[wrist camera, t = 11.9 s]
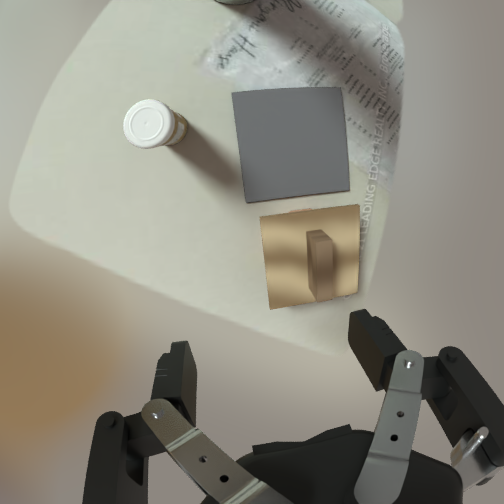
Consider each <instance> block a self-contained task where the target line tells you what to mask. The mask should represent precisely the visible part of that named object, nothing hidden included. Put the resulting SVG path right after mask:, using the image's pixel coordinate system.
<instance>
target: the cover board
mask: <svg viewBox="0 0 504 504" xmlns="http://www.w3.org/2000/svg"><path fill="white" fill-rule="evenodd" d="M260 225H261V234H262V243H263V252H264V260H265V269H266V279H267V288H268V297H269V306H270V310H271V309H277V308H283V307H288V306H294V305H299V304H304V303H310V302H315V301H317V302H322V301H327V300H332V298H335V297H339V296H344V295H349V294H353V293H357V289H358V271H359V239H360V205H358V204H355V205H346V206H338V207H330V208H321V209H313V210H306V211H298V212H290V213H283V214H276V215H269V216H262V217H260Z"/></svg>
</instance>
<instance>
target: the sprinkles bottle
mask: <svg viewBox="0 0 504 504" xmlns="http://www.w3.org/2000/svg"><path fill="white" fill-rule="evenodd" d="M123 128H124V133H125V136H126V138H127V139H128V141H129V142H130V143H131V144H133V145H134V146H136V147H139V148H145V149H148V148H155V147H158V146H164V145H173V144H176V143H178V142H180V141H181V140H182V139H183V138H184V136H185V134H186V131H187V123H186V120H185V119H184V117H183V116H182V115H180V114H179V113H176V112H175V111H173V110H171V109H170V108H169V107H168V106H167V105H166V104H164V103H162V102H160V101H157V100H153V99H147V100H142V101H140V102H138V103H136V104H135V105H133V106H132V107H131V108H130V109H129V111H128V112H127V114H126V116H125V119H124V124H123Z"/></svg>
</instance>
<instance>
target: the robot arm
mask: <svg viewBox="0 0 504 504" xmlns="http://www.w3.org/2000/svg"><path fill="white" fill-rule="evenodd" d="M216 1H218V2H221V3H225V4H245V3H249V2H252V1H254V0H216ZM348 341H349V345H350V347H351V349H352V350H353V352H354V354H355V356H356V357H357V359H358V361H359V363H360V364H361V366H362V368H363V369H364V371H365V373H366V375H367V376H368V378H369V380H370V382H371V383H372V385H373V387H374V388H375V390H376V391H380V390H383V389H384V390H385V392H386V394H385V398H384V401H383V405H382V408H381V411H380V415H379V418H378V421H377V424H376V427H375V430H374V432H371V431H366V430H352V429H351V427H350V424H348V425H345V426H341V427H337V428H334V429H330V430H327V431H325V432H323V433H321V434H319V435H317V436H315V437H313V438H311V439H308V440H306V441H303V442H272V443H266V444H260V445H254V446H252V448H253V452H251V453H249V454H247V455H245V456H243V457H241V458H239V459H238V460H237V461H234V460H233V459H232V458H230V457H229V456H228V455H227V454H226V453H225V452H224V451H222V450H221V449H220V448H219V447H218V446H217V445H216V444H215V443H214V442H213V441H211V440H210V439H209V438H208V437H207V436H206V435H205V434H204V433H203V432H202V431H201V430H199V429H195V427H196V390H197V369H196V364H195V361H194V358H193V355H192V352H191V349H190V346H189V343H188V341H179V342H173V343H172V344H171V350H170V353H164V354H163V355H162V356H161V357H160V359H159V360H158V363H157V368H156V369H157V371H156V374H155V379H154V384H153V389H152V395H151V400H150V401H149V402H147V403H146V404H145V405H144V406H143V408H142V411H141V412H139V413H136V414H133V415H130V416H126V417H123V416H122V415H121V414H120V413H118V412H115V411H110V412H106V413H104V414H102V415H101V416H100V417H99V418H98V420H97V422H96V426H95V431H94V435H93V440H92V445H91V451H90V456H89V461H88V468H87V473H86V480H85V487H84V494H83V502H82V504H148V460H149V456H153V455H156V454H159V453H163V452H167V453H168V454H169V455H170V457H171V458H172V459H173V460H174V461H175V462H176V464H177V465H178V466H179V467H180V468H181V469H182V470H183V471H184V472H185V473H186V474H187V476H188V477H189V478H190V479H191V480H192V481H193V482H194V483H195V484H196V486H197V487H198V488H199V489H200V490H201V491H202V492H203V493H204V494H205V495H206V498H205V499H204V500H203V501H202V503H201V504H463V503H462V499H463V498H462V497H463V492H465V491H466V490H468V489H470V488H471V487H473V486H474V485H483V484H485V483H487V482H488V481H489V480H490V479H491V478H493V477H494V476H495V475H496V474H497V473H498V472H499V471H501V470H502V469H503V468H504V405H503V404H502V403H501V401H500V400H499V398H498V397H497V395H496V394H495V393H494V391H493V390H492V389H491V387H490V386H489V385H488V383H487V382H486V381H485V379H484V378H483V377H482V376H481V375H480V373H479V372H478V370H477V369H476V368H475V367H474V365H473V364H472V363H471V362H470V361H469V359H468V358H467V357H466V356H465V354H464V353H463V352H462V351H461V350H460V349H458V348H456V347H452V346H448V347H444V348H442V349H441V350H440V352H439V355H438V356H434V357H422V356H421V354H419V353H418V352H416V351H412V350H407V349H406V347H405V346H404V345H403V344H402V342H401V341H400V340H399V339H398V337H397V336H396V335H395V334H394V333H393V331H392V330H391V329H390V328H389V326H388V325H387V324H386V322H385V321H384V320H382V319H380V318H379V317H377V316H374V317H372V316H371V315H370V314H369V312H368V311H367V310H366V309H362V310H358V311H354V312H351V313H350V319H349V331H348ZM424 399H426V401H427V402H428V404H429V406H430V407H431V409H432V411H433V413H434V414H435V416H436V418H437V420H438V421H439V423H440V425H441V426H442V428H443V430H444V432H445V434H446V436H447V438H448V439H449V441H450V443H451V445H452V447H453V449H452V451H451V457H450V458H451V465H452V466H450V465H448V464H446V463H443V462H441V461H438V460H435V459H433V458H430V457H428V456H426V455H423V454H421V453H418V452H416V451H414V450H412V449H411V448H412V444H413V440H414V435H415V431H416V426H417V421H418V416H419V410H420V404H421V400H424Z"/></svg>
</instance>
